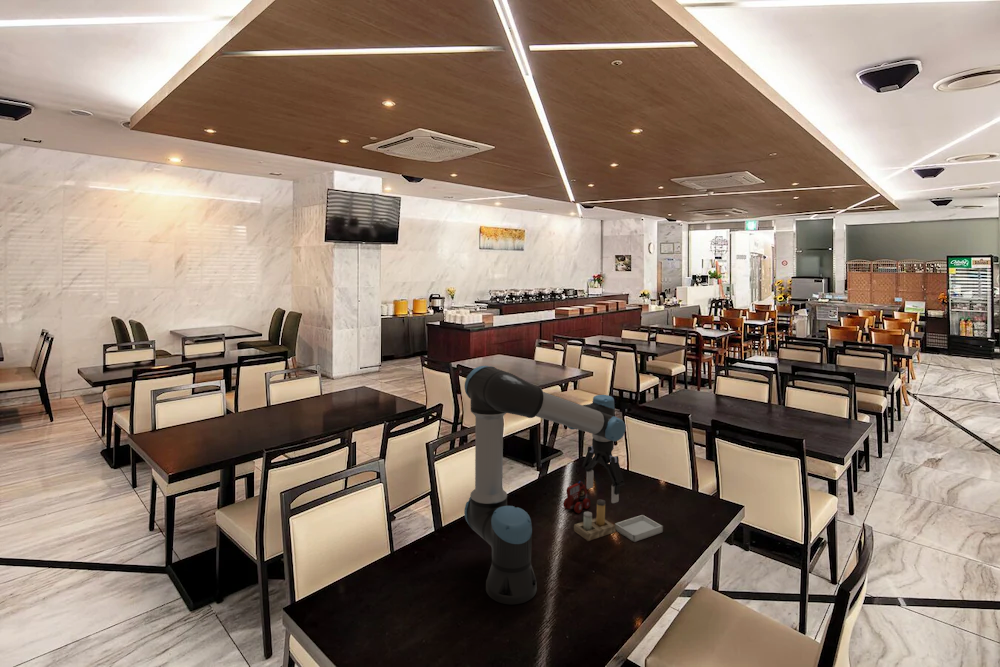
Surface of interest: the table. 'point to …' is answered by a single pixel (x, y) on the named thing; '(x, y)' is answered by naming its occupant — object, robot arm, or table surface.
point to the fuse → (587, 521)
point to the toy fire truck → (577, 497)
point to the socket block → (594, 530)
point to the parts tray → (638, 528)
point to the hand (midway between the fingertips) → (602, 494)
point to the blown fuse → (600, 513)
